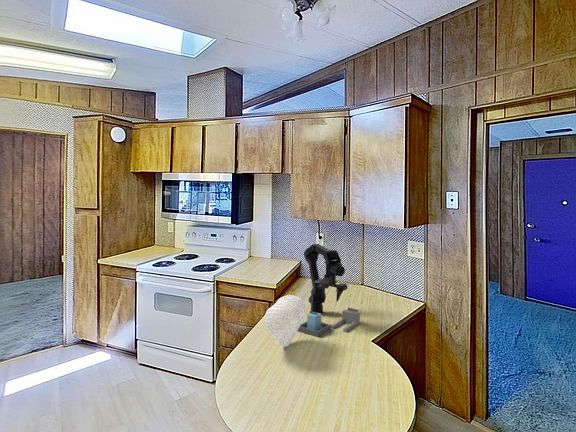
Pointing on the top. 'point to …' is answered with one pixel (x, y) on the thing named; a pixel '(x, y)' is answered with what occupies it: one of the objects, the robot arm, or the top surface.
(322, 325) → the tray
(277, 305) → the heart
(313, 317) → the light blue block
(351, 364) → the top surface
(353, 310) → the dock
